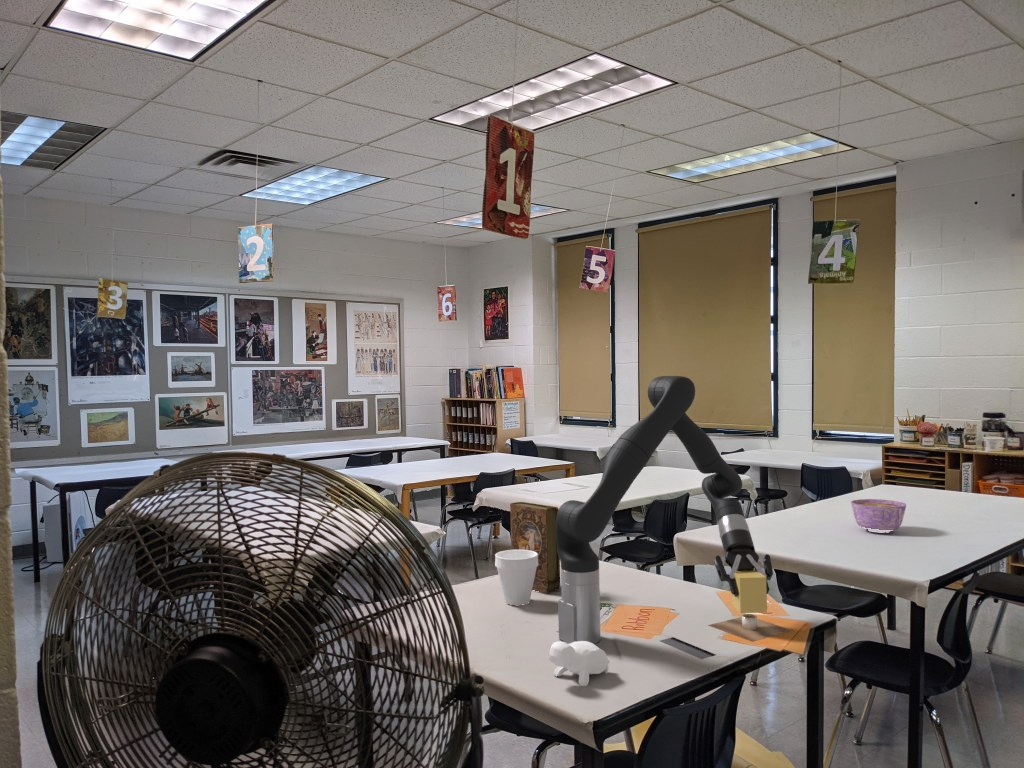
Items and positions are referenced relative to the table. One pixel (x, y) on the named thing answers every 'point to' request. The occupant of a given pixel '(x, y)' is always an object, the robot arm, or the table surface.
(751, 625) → the white jar
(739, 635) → the board
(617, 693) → the table surface
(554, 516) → the book
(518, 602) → the cup
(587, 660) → the white animal figurine
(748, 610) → the yellow block
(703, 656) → the mat
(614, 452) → the robot arm
